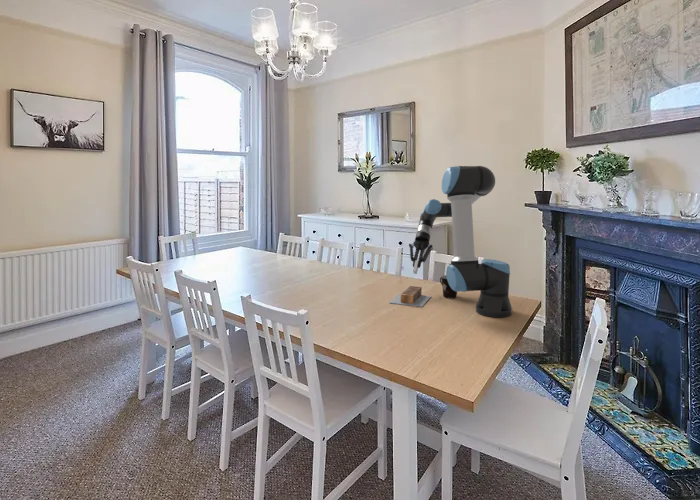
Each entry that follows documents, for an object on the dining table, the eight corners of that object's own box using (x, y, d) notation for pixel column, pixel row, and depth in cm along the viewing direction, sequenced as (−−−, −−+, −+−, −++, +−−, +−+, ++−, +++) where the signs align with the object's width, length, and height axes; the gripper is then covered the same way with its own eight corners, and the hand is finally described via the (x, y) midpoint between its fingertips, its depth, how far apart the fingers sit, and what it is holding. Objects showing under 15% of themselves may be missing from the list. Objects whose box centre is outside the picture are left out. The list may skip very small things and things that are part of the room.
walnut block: (421, 287, 205) (412, 295, 191) (421, 294, 206) (412, 303, 191) (410, 286, 207) (400, 294, 193) (410, 293, 208) (400, 302, 194)
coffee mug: (460, 298, 199) (461, 279, 197) (443, 299, 199) (443, 279, 197) (454, 292, 210) (455, 273, 209) (438, 292, 211) (438, 273, 209)
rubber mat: (430, 296, 203) (430, 296, 203) (422, 307, 187) (422, 306, 187) (400, 293, 210) (400, 292, 210) (389, 303, 194) (389, 302, 194)
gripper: (436, 239, 217) (428, 277, 205) (412, 238, 222) (404, 275, 210) (434, 231, 211) (426, 269, 199) (410, 230, 216) (401, 267, 204)
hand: (414, 272), depth 205 cm, fingers closed
